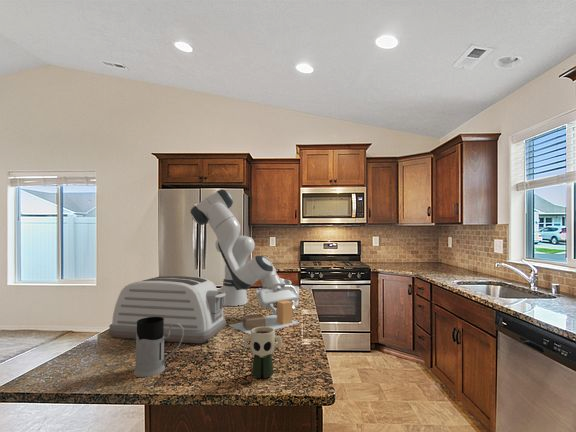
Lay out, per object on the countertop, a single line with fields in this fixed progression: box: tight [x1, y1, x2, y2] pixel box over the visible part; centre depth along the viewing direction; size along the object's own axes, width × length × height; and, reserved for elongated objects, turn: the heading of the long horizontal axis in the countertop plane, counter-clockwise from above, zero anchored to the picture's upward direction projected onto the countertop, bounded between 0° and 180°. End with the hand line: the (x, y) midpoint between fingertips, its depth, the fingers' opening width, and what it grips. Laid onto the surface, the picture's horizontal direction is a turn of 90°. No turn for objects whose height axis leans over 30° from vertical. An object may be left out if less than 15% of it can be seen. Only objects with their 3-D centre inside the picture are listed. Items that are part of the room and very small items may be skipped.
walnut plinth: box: [242, 313, 266, 330], centre depth 137 cm, size 8×8×4 cm
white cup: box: [293, 285, 300, 307], centre depth 181 cm, size 8×8×10 cm
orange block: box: [276, 301, 293, 325], centre depth 144 cm, size 5×5×9 cm
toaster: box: [108, 275, 227, 345], centre depth 133 cm, size 23×45×22 cm, turn 78°
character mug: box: [243, 327, 282, 379], centre depth 94 cm, size 11×7×13 cm, turn 91°
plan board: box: [228, 314, 301, 336], centre depth 141 cm, size 18×26×1 cm
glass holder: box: [133, 317, 184, 378], centre depth 98 cm, size 9×14×15 cm, turn 94°
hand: (285, 311), depth 143 cm, fingers open, 8 cm apart
